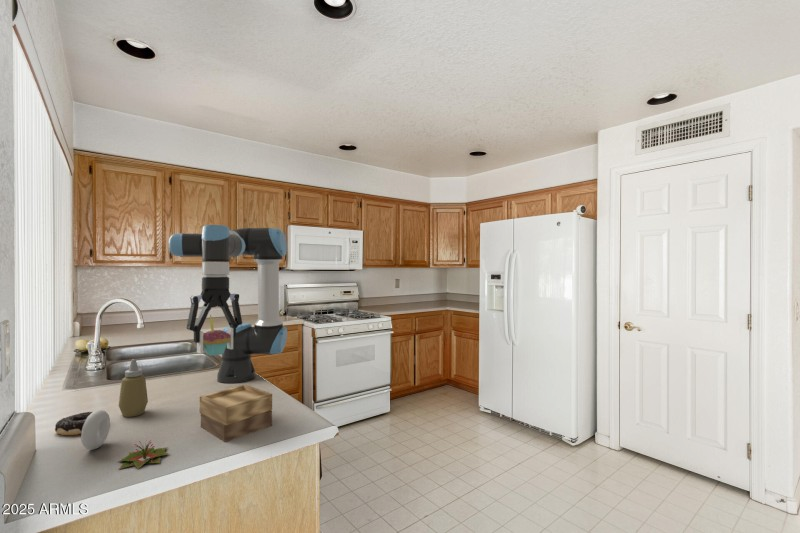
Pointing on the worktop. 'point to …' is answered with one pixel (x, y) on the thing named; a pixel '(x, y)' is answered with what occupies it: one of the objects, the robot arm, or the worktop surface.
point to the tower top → (235, 404)
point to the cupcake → (215, 340)
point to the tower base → (236, 426)
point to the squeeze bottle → (133, 392)
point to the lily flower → (143, 453)
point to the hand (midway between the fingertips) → (215, 350)
